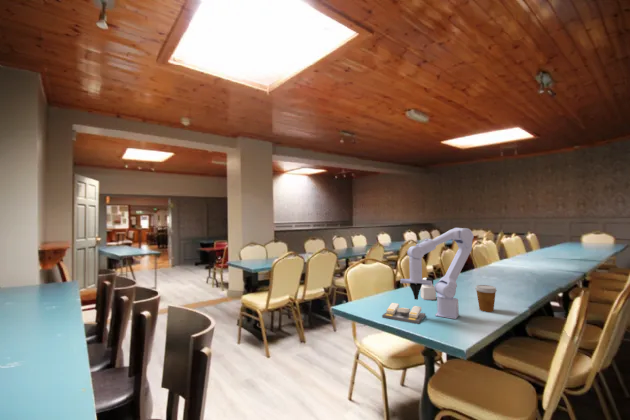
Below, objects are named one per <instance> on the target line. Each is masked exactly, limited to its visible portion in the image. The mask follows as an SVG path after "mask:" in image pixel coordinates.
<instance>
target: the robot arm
mask: <svg viewBox="0 0 630 420" xmlns="http://www.w3.org/2000/svg"><path fill="white" fill-rule="evenodd" d="M474 237H475V236H474V233H473V232H472V230H471V229H470V228H468V227H467V228H466V227H463V228H462V227H454V228H452V229H449V230H448V231H446V232H444V233H442V234H440V235H439V236H436V237H435V238H433V239H432V238H425V239H424V240H423V241H421V242H420V243H416V244H415V245H412V246H410V247H409V248H408V249H407V251H406V253H407V256H408V257H409V258H408V259H409V261H408V263H409V264H408V266H409V278H400V281H399V282H400V284H409V287H410V289H411V291H412V294H413V297H414V300H416V301H417V300H418V299H419V294H420V292H421V286H422V285H431V286H432V281H429V280H422V279H423V268H422V267H423V266H422V264H423V262H422V261H423V260H422V259H423V257H424V255H426V254H428V253H430V252H432V251H434V250H436V248H437V246H439V245H442V244H443V243H446V242H448V241H450V240H454V242H455V243H456V245H457V247H458V249H457V251H456V253H455V255H454V257H453V259H452V261H451V263H450V265H449V267H448V269H447V271H446V273H445V274H444V276H442V277H441V278H440V279H439V280H438V281H437V282H436V283H435V285H434V287H435V291H436V301H437V302H436V303H437V304H436V305H437V312H436V313H435V314H434V315H435V317H439V318H440V317H441V318H447V319H453V320H456V319H457V318H458V317H459V315H460V314H459V313H460V311H459V299H458V297H457V298H456V297H455V296H456V294H457V291H456V289H457V287H458V284H457V279H458V278H459V276H460V274H461V271H462V269H463V268H464V266H465V264H466V262H467V260H468V258H469V256H470V254H471V252H472V250H473V240H474V239H475V238H474Z"/></svg>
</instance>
